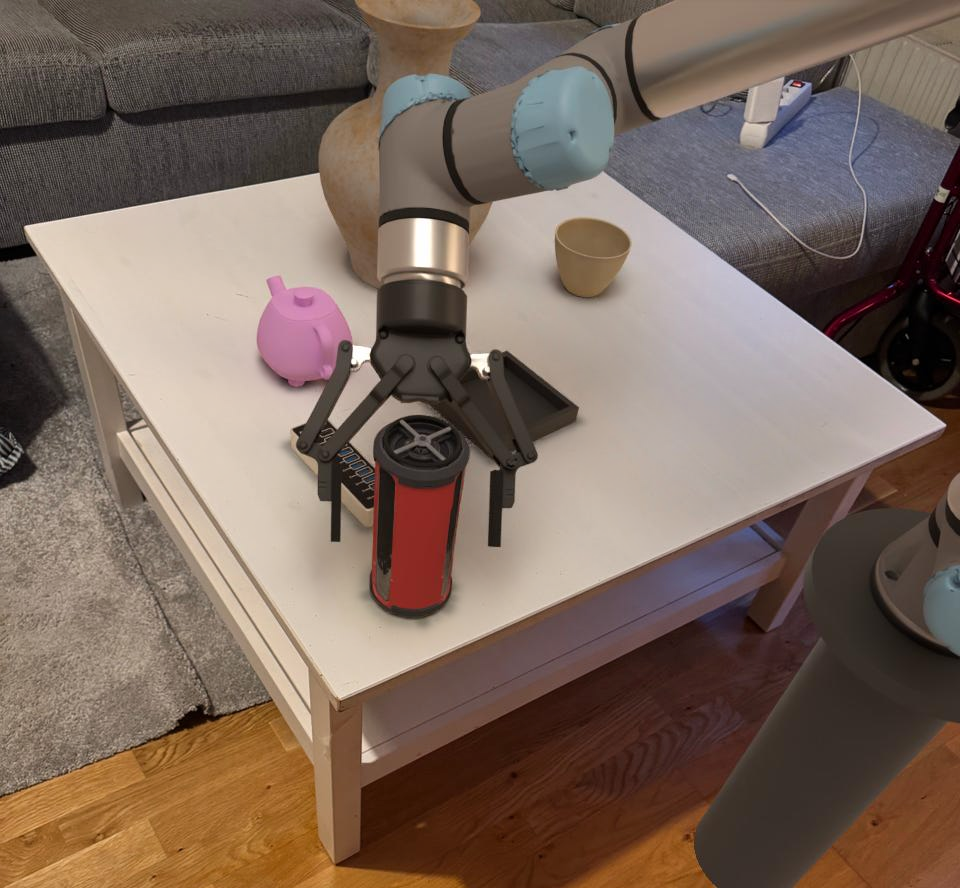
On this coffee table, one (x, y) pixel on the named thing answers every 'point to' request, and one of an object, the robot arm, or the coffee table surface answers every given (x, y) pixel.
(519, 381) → the dock pad
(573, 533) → the coffee table surface
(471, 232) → the vase
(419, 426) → the speaker
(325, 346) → the teapot
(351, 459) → the multiport hub
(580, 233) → the flower pot
